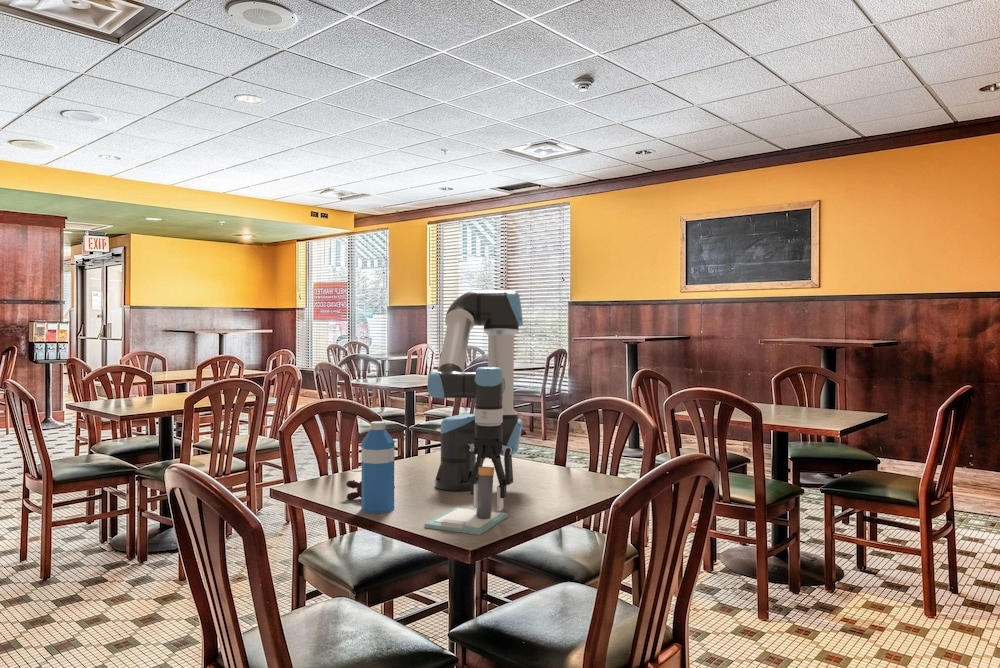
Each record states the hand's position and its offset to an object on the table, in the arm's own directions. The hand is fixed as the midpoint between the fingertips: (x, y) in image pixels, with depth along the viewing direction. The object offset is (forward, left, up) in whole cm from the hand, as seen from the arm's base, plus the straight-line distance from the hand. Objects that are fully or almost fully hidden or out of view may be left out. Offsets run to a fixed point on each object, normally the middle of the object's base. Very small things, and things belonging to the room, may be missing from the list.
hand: (488, 508), depth 185 cm
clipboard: (+5, -4, -3) cm, 7 cm away
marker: (+3, 0, -1) cm, 4 cm away
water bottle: (+4, -33, -3) cm, 33 cm away
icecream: (-4, -41, -3) cm, 42 cm away
